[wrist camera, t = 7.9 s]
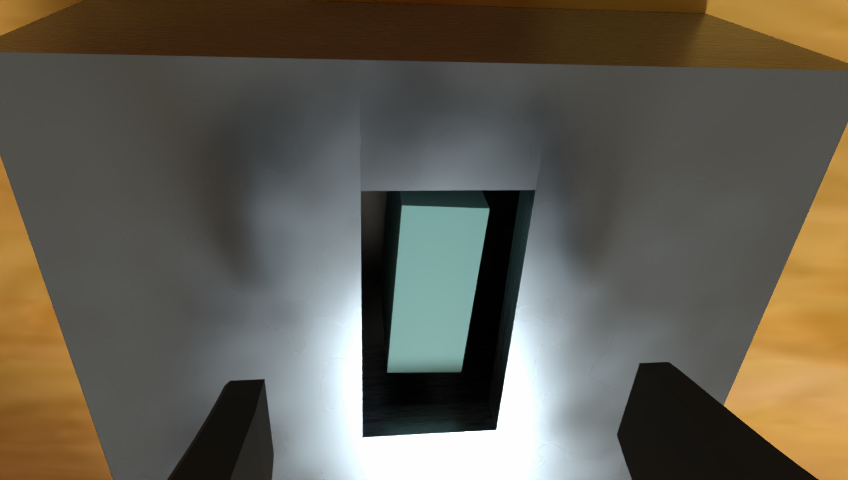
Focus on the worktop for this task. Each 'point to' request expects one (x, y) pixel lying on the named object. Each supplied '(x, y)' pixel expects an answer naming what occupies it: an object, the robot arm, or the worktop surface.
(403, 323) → the teal rectangular brick
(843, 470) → the worktop surface
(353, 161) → the coin box
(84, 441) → the worktop surface
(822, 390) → the worktop surface
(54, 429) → the worktop surface
